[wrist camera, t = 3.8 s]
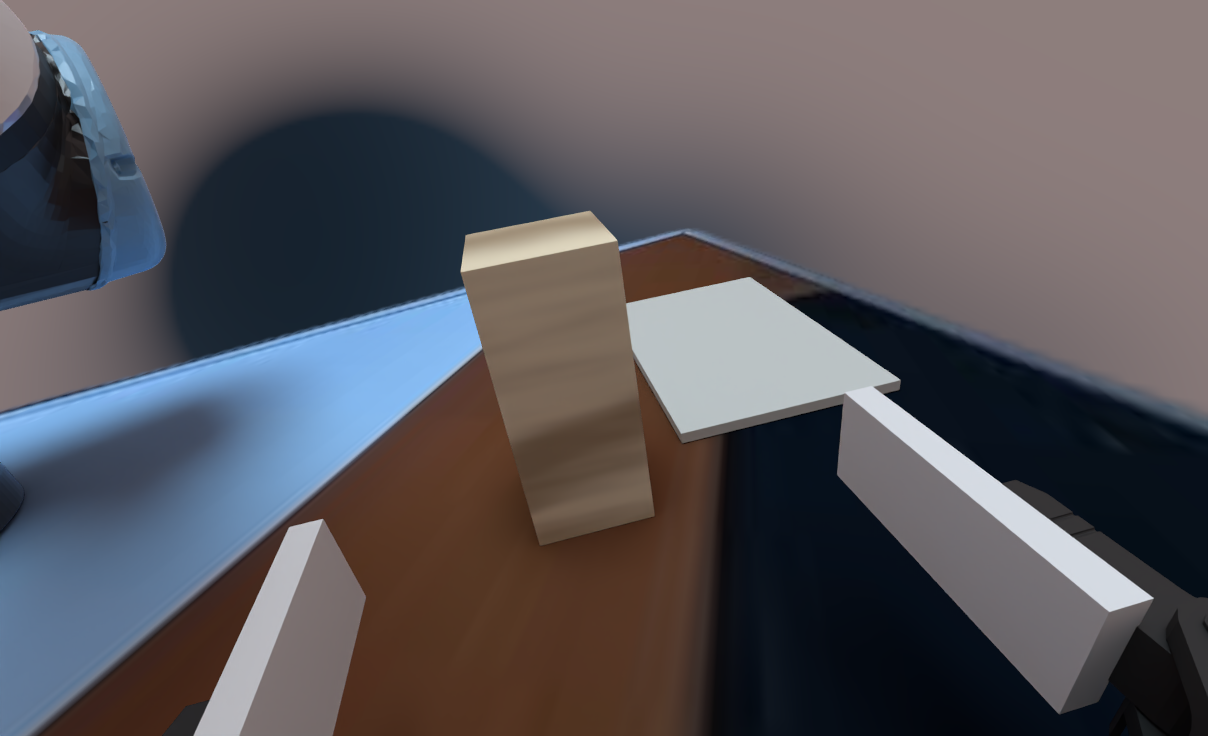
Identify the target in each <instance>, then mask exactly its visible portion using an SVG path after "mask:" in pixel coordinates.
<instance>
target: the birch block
mask: <svg viewBox="0 0 1208 736" xmlns="http://www.w3.org/2000/svg"><path fill="white" fill-rule="evenodd" d="M461 275H462V278H463V282H464V285H465V289H466V292H467V296H468V299H469V303H470V306H471V309H472V313H473V316H474V320H475V323H476V327H477V330H478V334H479V337H480V341H481V344H482V348H483V351H484V354H485V358H486V361H487V365H488V368H489V372H490V375H491V379H492V382H493V386H494V389H495V392H496V396H497V399H498V403H499V406H500V410H501V413H502V417H503V420H504V424H505V427H506V430H507V434H508V437H509V441H510V444H511V448H512V451H513V455H514V458H515V462H516V465H517V468H518V472H519V475H520V479H521V482H522V486H523V489H524V493H525V496H526V500H527V503H528V506H529V510H530V513H531V517H532V520H533V524H534V527H535V531H536V534H537V538H538V541H539V544H540V546H542V545H546V544H550V543H553V542H557V541H561V540H565V539H569V538H573V537H577V536H580V535H584V534H588V533H592V532H596V531H600V530H603V529H607V528H611V527H615V526H619V525H623V524H626V523H630V522H634V521H638V520H642V519H646V518H649V517H653V516H655V514H654V506H653V499H652V492H651V484H650V477H649V469H648V462H647V455H646V447H645V440H644V433H643V425H642V418H641V410H640V403H639V396H638V388H637V381H636V374H635V366H634V359H633V351H632V344H631V337H630V329H629V322H628V314H627V307H626V300H625V292H624V285H623V278H622V270H621V263H620V255H619V248H618V241H617V240H616V238H614V236H613V235H612V234H611V233H610V232H609V231H608V230H607V229H606V228H605V226H604V225H603V224H602V223H601V222H600V221H599V220H598V219H597V218H596V217H595V216H594V215H593V213H592V212H591V211H587V212H582V213H577V214H572V215H567V216H562V217H557V218H551V219H546V220H541V221H536V222H531V223H526V224H521V225H516V226H510V227H505V228H500V229H495V230H490V231H485V232H480V233H474V234H470V235H466V239H465V246H464V253H463V260H462V267H461Z"/></svg>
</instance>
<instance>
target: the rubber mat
mask: <svg viewBox="0 0 1208 736" xmlns="http://www.w3.org/2000/svg"><path fill="white" fill-rule="evenodd" d="M626 307H627V314H628V322H629V329H630V337H631V344H632V351H633V358H634V359H635V361H636V363H637V365H638V367H639V368H640V370H641V372H642V374H643V375H644V377H645V379H646V381H647V382H648V384H649V386H650V388H651V389H652V391H653V393H654V395H655V397H656V398H657V400H658V402H659V404H660V405H661V407H662V409H663V411H664V412H665V414H666V416H667V418H668V419H669V421H670V423H671V425H672V427H673V428H674V430H675V432H676V434H677V435H678V437H679V439H680V441H681V442H682V443H686V442H690V441H694V440H698V439H702V438H706V437H710V436H714V435H718V434H722V433H726V432H730V431H734V430H738V429H742V428H746V427H751V426H755V425H759V424H763V423H767V422H771V421H775V420H779V419H783V418H787V417H791V416H795V415H799V414H803V413H807V412H811V411H815V410H819V409H824V408H828V407H832V406H836V405H840V404H843V402H844V392H848V391H853V390H857V389H861V388H865V387H869V386H872V387H874V388H875V389H876V390H878V391H879V392H880V393H882V394H884V393H888V392H892V391H897V390H899V388H900V381H901V380H900V379H898V378H897V377H895V376H894V375H892V374H891V373H890V372H888V371H887V370H885V369H884V368H882V367H881V366H879V365H878V364H876V363H875V362H873V361H872V360H870V359H869V358H868V357H866V356H865V355H863V354H862V353H860V352H859V351H857V350H856V349H854V348H853V347H851V346H850V345H848V344H847V343H846V342H844V341H843V340H841V339H840V338H838V337H837V336H835V335H834V334H832V333H831V332H829V331H828V330H827V329H825V328H824V327H822V326H821V325H819V324H818V323H816V322H815V321H813V320H812V319H810V318H809V317H807V316H806V315H805V314H803V313H802V312H800V311H799V310H797V309H796V308H794V307H793V306H791V305H790V304H788V303H787V302H785V301H784V300H783V299H781V298H780V297H778V296H777V295H775V294H774V293H772V292H771V291H769V290H768V289H766V288H765V287H764V286H762V285H761V284H759V283H758V282H756V281H755V280H753V279H752V278H750V277H748V278H743V279H739V280H734V281H729V282H725V283H720V284H715V285H711V286H706V287H701V288H697V289H692V290H687V291H683V292H678V293H673V294H669V295H664V296H660V297H655V298H650V299H646V300H641V301H636V302H632V303H627V304H626Z"/></svg>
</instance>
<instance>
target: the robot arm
mask: <svg viewBox="0 0 1208 736" xmlns="http://www.w3.org/2000/svg"><path fill="white" fill-rule="evenodd" d="M165 251H166V240H165V235H164V231H163V228H162V225H161V222H160V219H159V216H158V213H157V210H156V208H155V205H154V202H153V200H152V197H151V195H150V192H149V190H148V187H147V185H146V183H145V180H144V178H143V176H142V174H141V171H140V170H139V167H138V166H137V165H136V164H135V157H134V155H133V153H132V151H131V149H130V146H129V144H128V140H127V137H126V135H125V133H124V131H123V128H122V126H121V123H120V121H119V119H118V117H117V115H116V112H115V110H114V108H113V106H112V104H111V102H110V99H109V97H108V96H107V93H106V91H105V89H104V87H103V85H102V83H101V81H100V79H99V77H98V75H97V73H96V71H95V69H94V67H93V65H92V63H91V61H90V60H89V58H88V56H87V55H86V53H85V52H84V50H83V49H82V48H81V46H80V45H78V44H77V43H76V42H75V41H73V40H72V39H70V38H67V37H65V36H61V35H49V34H46V33H44V32H42V31H39V30H37V31H33V32H28V30H27V29H26V27H25V26H24V25H23V24H22V22H21V21H20V20H19V19H18V17H17V16H16V15H15V14H14V13H13V12H12V10H11V9H10V8H9V7H8V6H7V5H6V4H5V3H4V2H3V1H2V0H0V311H2V310H7V309H11V308H15V307H19V306H23V305H27V304H31V303H35V302H39V301H43V300H47V299H51V298H55V297H59V296H63V295H67V294H72V293H76V292H79V291H84V290H90V291H91V290H96V289H100V288H101V287H103V286H104V285H106V284H107V283H108V282H110V281H113V280H117V279H120V278H123V277H126V276H130V275H133V274H136V273H139V272H143V271H146V270H148V269H150V268H152V267H154V266H155V265H157V264H158V263H159V262H160V260H161V259H162V258H163V256H164V254H165ZM837 475H838V476H839V477H840V478H841V479H842V480H843V481H844V483H845V484H846V485H847V486H848V487H849V488H850V489H851V490H852V491H853V492H854V493H855V494H856V496H857V497H858V498H859V499H860V500H861V501H862V502H863V503H864V504H865V505H866V506H867V507H868V508H869V510H870V511H871V512H872V513H873V514H874V515H875V516H876V517H877V518H878V519H879V520H880V521H881V522H882V524H883V525H884V526H885V527H886V528H887V529H888V530H889V531H890V532H891V533H892V534H893V535H894V537H895V538H896V539H897V540H898V541H899V542H900V543H901V544H902V545H903V546H904V547H905V548H906V549H907V551H908V552H909V553H910V554H911V555H912V556H913V557H914V558H915V559H916V560H917V561H918V562H919V564H920V565H921V566H922V567H923V568H924V569H925V570H926V571H927V572H928V573H929V574H930V575H931V576H932V578H933V579H934V580H935V581H936V582H937V583H938V584H939V585H940V586H941V587H942V588H943V589H944V591H945V592H946V593H947V594H948V595H949V596H950V597H951V598H952V599H953V600H954V601H955V602H956V603H957V605H958V606H959V607H960V608H961V609H962V610H963V611H964V612H965V613H966V614H967V615H968V616H969V618H970V619H971V620H972V621H973V622H974V623H975V624H976V625H977V626H978V627H979V628H980V629H981V630H982V632H983V633H984V634H985V635H986V636H987V637H988V638H989V639H990V640H991V641H992V642H993V643H994V645H995V646H996V647H997V648H998V649H999V650H1000V651H1001V652H1002V653H1003V654H1004V655H1005V656H1006V657H1007V659H1008V660H1009V661H1010V662H1011V663H1012V664H1013V665H1014V666H1015V667H1016V668H1017V669H1018V670H1019V672H1020V673H1021V674H1022V675H1023V676H1024V677H1025V678H1026V679H1027V680H1028V681H1029V682H1030V683H1031V684H1032V686H1033V687H1034V688H1035V689H1036V690H1037V691H1038V692H1039V693H1040V694H1041V695H1042V696H1043V697H1044V699H1045V700H1046V701H1047V702H1048V703H1049V704H1050V705H1051V706H1052V707H1053V708H1054V709H1055V710H1056V711H1057V713H1058V714H1062V713H1065V712H1068V711H1071V710H1074V709H1078V708H1081V707H1084V706H1087V705H1090V704H1093V703H1096V702H1098V701H1099V699H1100V697H1101V695H1102V693H1103V691H1104V690H1105V688H1106V686H1107V684H1108V682H1109V681H1110V682H1111V683H1112V684H1113V685H1114V686H1115V687H1116V688H1117V689H1118V690H1119V691H1120V692H1121V693H1123V694H1124V695H1125V696H1126V697H1125V699H1124V701H1123V703H1122V704H1121V706H1120V708H1119V709H1118V711H1117V713H1116V715H1115V716H1114V718H1113V720H1112V721H1111V723H1110V730H1109V736H1120V735H1121V733H1122V732H1123V730H1124V728H1125V727H1126V725H1127V728H1128V732H1129V736H1208V598H1202V597H1201V598H1195V597H1193V596H1191V595H1190V594H1188V593H1187V592H1185V591H1183V590H1182V589H1180V588H1179V587H1177V586H1176V585H1175V584H1173V583H1172V582H1170V581H1169V580H1168V579H1166V578H1165V577H1163V576H1162V575H1161V574H1159V573H1158V572H1156V571H1155V570H1153V569H1152V568H1151V567H1149V566H1148V565H1146V564H1145V563H1144V562H1142V561H1141V560H1139V559H1138V558H1137V557H1135V556H1134V555H1132V554H1131V553H1130V552H1128V551H1127V550H1125V549H1124V548H1122V547H1121V546H1120V545H1118V544H1117V543H1115V542H1114V541H1113V540H1111V539H1110V538H1108V537H1107V536H1106V535H1104V534H1103V533H1101V532H1100V531H1099V532H1096V531H1095V529H1094V527H1093V526H1091V525H1090V524H1089V523H1087V522H1086V521H1084V520H1083V519H1082V518H1080V517H1079V516H1074V515H1073V512H1072V511H1070V510H1069V509H1068V508H1066V507H1065V506H1063V505H1062V504H1060V503H1059V502H1058V501H1056V500H1055V499H1053V498H1052V497H1051V496H1049V495H1048V494H1046V493H1044V492H1042V491H1039V490H1037V489H1035V488H1033V487H1030V486H1028V485H1026V484H1023V483H1021V482H1019V481H1017V480H1014V481H1010V482H1006V483H1003V484H1001V483H1000V482H999V481H997V480H996V479H995V478H993V477H992V476H991V475H989V474H988V473H987V472H985V471H984V470H983V469H981V468H980V467H979V466H977V465H976V464H975V463H973V462H972V461H971V460H969V459H968V458H967V457H965V456H964V455H963V454H961V453H960V452H959V451H957V450H956V449H955V448H953V447H952V446H951V445H949V444H948V443H947V442H945V441H944V440H943V439H941V438H940V437H939V436H937V435H936V434H935V433H933V432H932V431H931V430H929V429H928V428H927V427H926V426H924V425H923V424H922V423H920V422H919V421H918V420H916V419H915V418H914V417H912V416H911V415H910V414H908V413H907V412H906V411H904V410H903V409H902V408H900V407H899V406H898V405H896V404H895V403H894V402H892V401H891V400H890V399H888V398H887V397H886V396H884V395H883V394H882V393H880V392H879V391H878V390H876V389H875V388H874V387H872V386H869V387H865V388H861V389H857V390H853V391H848V392H844V402H843V413H842V425H841V436H840V448H839V459H838V471H837ZM23 498H24V490H23V487H22V486H21V485H20V483H19V482H18V481H17V480H16V479H15V478H14V477H13V476H12V475H11V473H10V472H9V471H8V470H7V469H6V468H5V467H4V466H3V464H2V463H1V462H0V531H1V530H2V529H3V528H4V527H5V525H6V524H7V523H8V522H9V521H10V520H11V519H12V517H13V516H14V515H15V513H16V512H17V510H18V509H19V507H20V505H21V503H22V501H23ZM365 599H366V596H365V594H364V592H363V590H362V589H361V587H360V585H359V583H358V581H357V579H356V578H355V576H354V574H353V572H352V570H351V568H350V567H349V565H348V563H347V561H346V559H345V558H344V556H343V554H342V552H341V550H340V548H339V547H338V545H337V543H336V541H335V539H334V538H333V536H332V534H331V532H330V530H329V528H328V527H327V525H326V523H325V521H324V519H321V520H317V521H312V522H308V523H304V524H300V525H296V526H292V527H289V529H288V531H287V533H286V535H285V537H284V540H283V542H282V544H281V546H280V548H279V551H278V553H277V555H276V557H275V559H274V561H273V564H272V566H271V568H270V570H269V572H268V575H267V577H266V579H265V581H264V583H263V585H262V588H261V590H260V592H259V594H258V596H257V598H256V601H255V603H254V605H253V607H252V609H251V612H250V614H249V616H248V618H247V620H246V622H245V625H244V627H243V629H242V631H241V633H240V636H239V638H238V640H237V642H236V644H235V646H234V649H233V651H232V653H231V655H230V657H229V659H228V662H227V664H226V666H225V668H224V670H223V673H222V675H221V677H220V679H219V681H218V683H217V686H216V688H215V690H214V692H213V694H212V697H211V699H210V700H207V701H204V702H200V703H196V704H193V705H189V706H186V707H185V708H184V709H183V711H182V712H181V713H180V714H179V715H178V717H177V718H176V719H175V720H174V722H173V723H172V724H171V725H170V727H169V728H168V729H167V730H166V731H165V733H164V734H163V735H162V736H333V732H334V728H335V723H336V719H337V715H338V711H339V707H340V703H341V699H342V694H343V690H344V686H345V682H346V678H347V674H348V670H349V665H350V661H351V657H352V653H353V649H354V645H355V641H356V636H357V632H358V628H359V624H360V620H361V616H362V612H363V607H364V603H365Z"/></svg>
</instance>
